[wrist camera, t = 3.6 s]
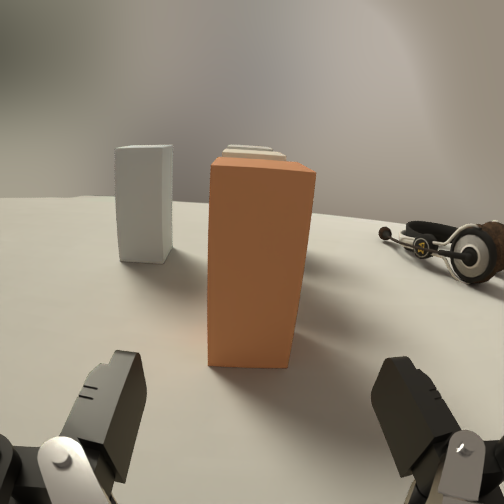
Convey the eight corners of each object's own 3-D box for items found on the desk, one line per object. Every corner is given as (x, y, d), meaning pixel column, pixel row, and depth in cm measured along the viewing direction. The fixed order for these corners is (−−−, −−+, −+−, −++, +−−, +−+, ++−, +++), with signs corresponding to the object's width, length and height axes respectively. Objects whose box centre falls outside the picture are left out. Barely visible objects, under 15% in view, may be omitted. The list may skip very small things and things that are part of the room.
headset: (494, 231, 25) (363, 207, 42) (482, 301, 27) (360, 260, 44) (522, 224, 33) (423, 205, 50) (514, 273, 35) (419, 247, 52)
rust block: (207, 365, 19) (210, 165, 14) (213, 321, 23) (218, 156, 19) (287, 368, 19) (316, 172, 15) (279, 324, 24) (297, 162, 19)
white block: (119, 261, 32) (114, 148, 27) (133, 245, 37) (131, 145, 32) (163, 263, 32) (162, 147, 28) (172, 246, 37) (173, 144, 32)
